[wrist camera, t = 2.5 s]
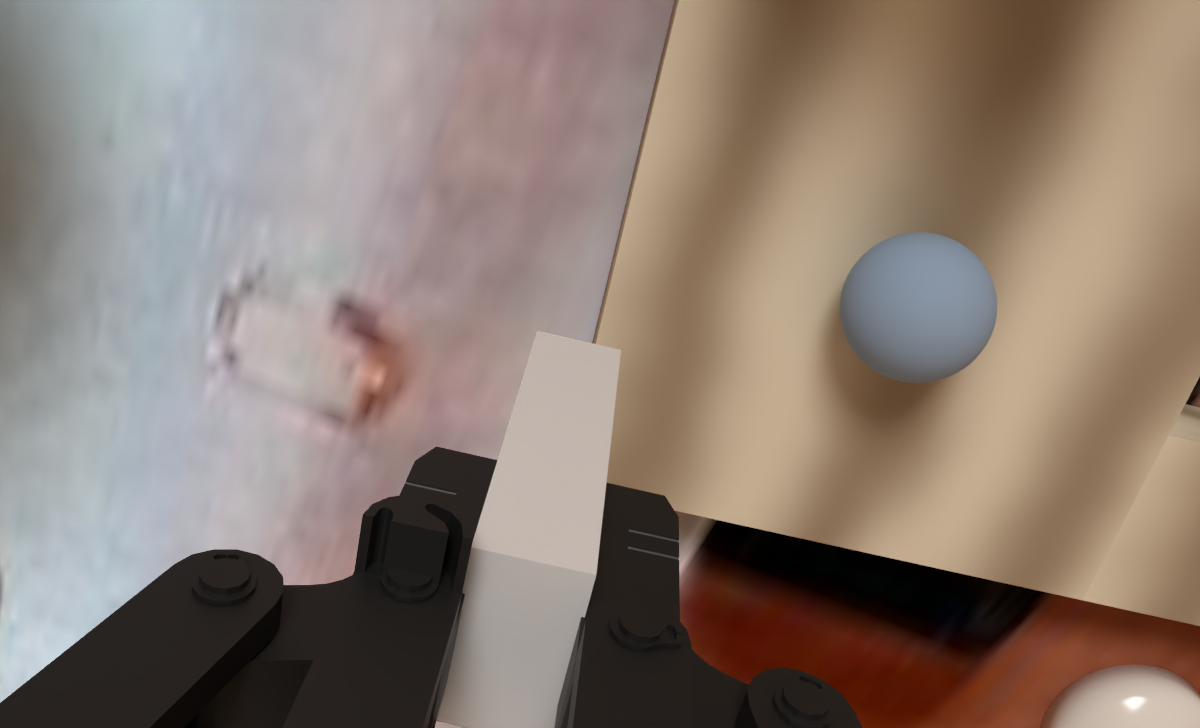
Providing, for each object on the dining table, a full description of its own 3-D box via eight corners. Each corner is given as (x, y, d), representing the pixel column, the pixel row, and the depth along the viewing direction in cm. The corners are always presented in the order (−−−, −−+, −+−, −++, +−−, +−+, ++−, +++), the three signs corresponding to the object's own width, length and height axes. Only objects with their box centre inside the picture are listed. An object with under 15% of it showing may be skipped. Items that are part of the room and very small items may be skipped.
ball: (811, 329, 30) (831, 390, 27) (855, 198, 29) (883, 244, 25) (943, 359, 30) (982, 423, 27) (995, 231, 29) (1043, 282, 25)
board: (569, 439, 36) (561, 485, 33) (705, -128, 28) (710, -130, 25) (1341, 611, 37) (1395, 669, 34) (1672, 111, 29) (1775, 134, 27)
